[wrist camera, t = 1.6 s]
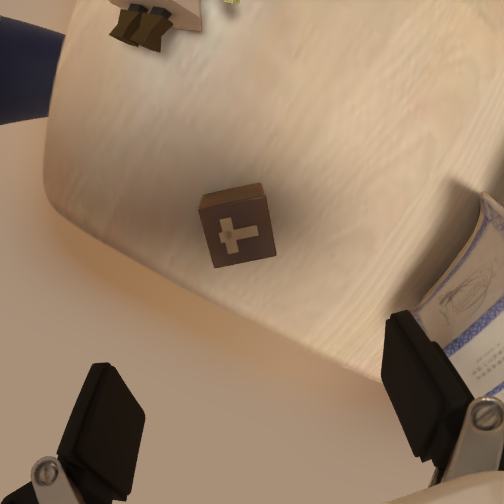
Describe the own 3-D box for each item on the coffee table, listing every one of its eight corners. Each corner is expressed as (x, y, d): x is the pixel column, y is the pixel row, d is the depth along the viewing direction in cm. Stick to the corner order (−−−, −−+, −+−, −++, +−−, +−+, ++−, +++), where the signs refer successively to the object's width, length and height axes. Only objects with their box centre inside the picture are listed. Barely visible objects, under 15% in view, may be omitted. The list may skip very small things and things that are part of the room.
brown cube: (216, 247, 24) (214, 269, 21) (202, 194, 22) (197, 210, 19) (271, 236, 24) (277, 256, 21) (260, 182, 22) (265, 195, 19)
